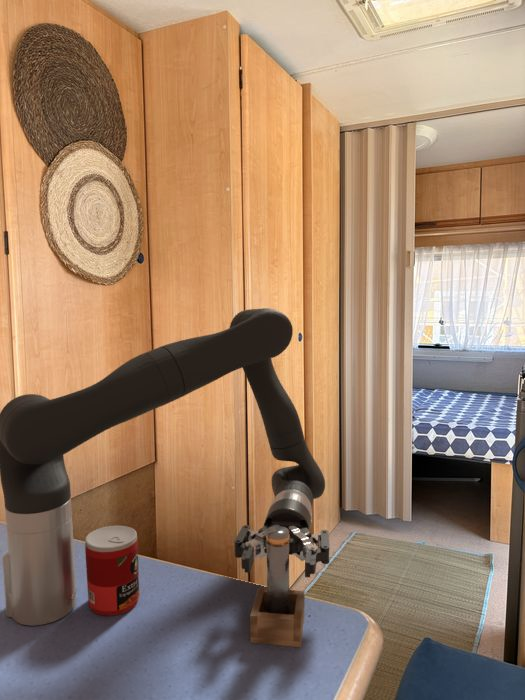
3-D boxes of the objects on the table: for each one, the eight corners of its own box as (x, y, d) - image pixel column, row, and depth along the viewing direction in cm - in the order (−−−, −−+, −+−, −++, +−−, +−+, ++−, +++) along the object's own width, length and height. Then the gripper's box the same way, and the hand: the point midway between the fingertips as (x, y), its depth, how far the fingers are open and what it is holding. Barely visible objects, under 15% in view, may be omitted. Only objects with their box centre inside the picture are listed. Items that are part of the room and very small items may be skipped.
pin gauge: (265, 629, 76) (264, 535, 74) (268, 615, 79) (267, 525, 77) (288, 631, 75) (288, 537, 74) (290, 617, 79) (290, 526, 77)
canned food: (127, 619, 80) (124, 550, 78) (78, 613, 81) (74, 545, 80) (147, 591, 87) (145, 527, 86) (103, 586, 89) (99, 523, 87)
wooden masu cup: (250, 642, 74) (250, 615, 74) (258, 612, 81) (258, 587, 81) (300, 647, 73) (300, 620, 73) (304, 616, 80) (304, 591, 80)
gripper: (247, 495, 91) (226, 540, 75) (331, 499, 89) (328, 547, 73) (248, 537, 92) (227, 590, 76) (331, 542, 90) (328, 598, 74)
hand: (277, 569), depth 75 cm, fingers open, 8 cm apart
